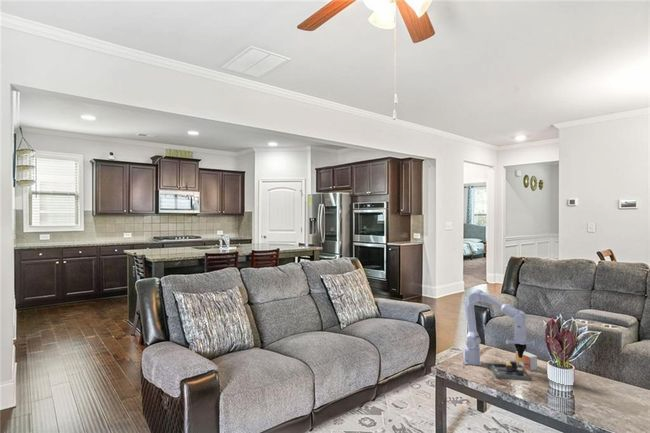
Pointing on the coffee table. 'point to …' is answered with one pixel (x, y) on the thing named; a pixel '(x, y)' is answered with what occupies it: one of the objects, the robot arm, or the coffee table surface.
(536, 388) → the coffee table surface
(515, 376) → the breaker panel
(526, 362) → the small box
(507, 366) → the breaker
